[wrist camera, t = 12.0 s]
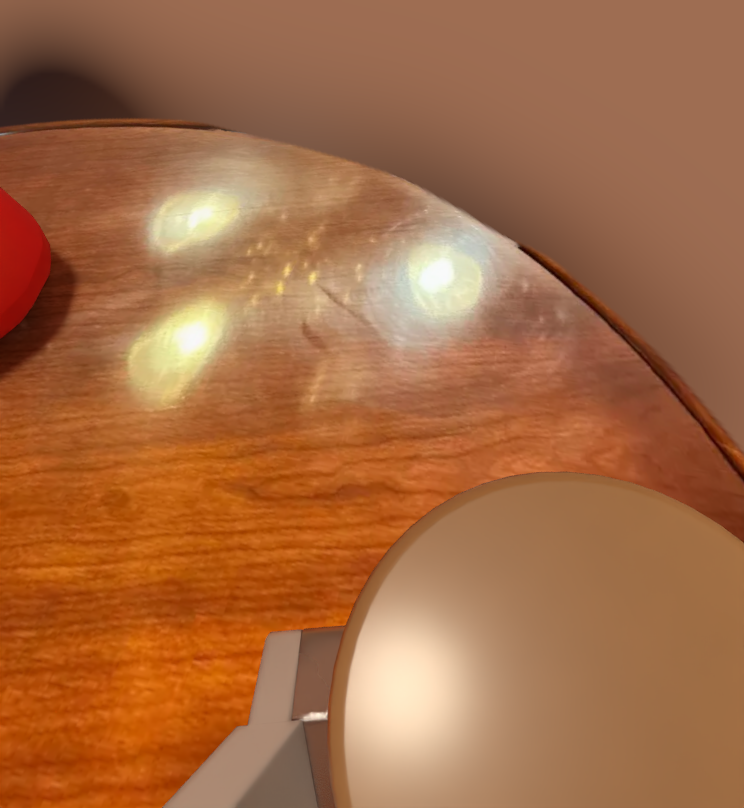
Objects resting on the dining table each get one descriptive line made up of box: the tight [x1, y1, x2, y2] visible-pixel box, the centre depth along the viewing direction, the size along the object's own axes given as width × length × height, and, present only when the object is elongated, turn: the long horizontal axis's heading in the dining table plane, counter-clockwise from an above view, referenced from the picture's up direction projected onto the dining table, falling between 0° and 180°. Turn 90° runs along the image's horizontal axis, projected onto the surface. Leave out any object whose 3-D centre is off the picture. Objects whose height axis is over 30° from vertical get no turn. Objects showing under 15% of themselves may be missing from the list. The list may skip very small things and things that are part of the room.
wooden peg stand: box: [327, 472, 744, 808], centre depth 9 cm, size 5×5×14 cm
